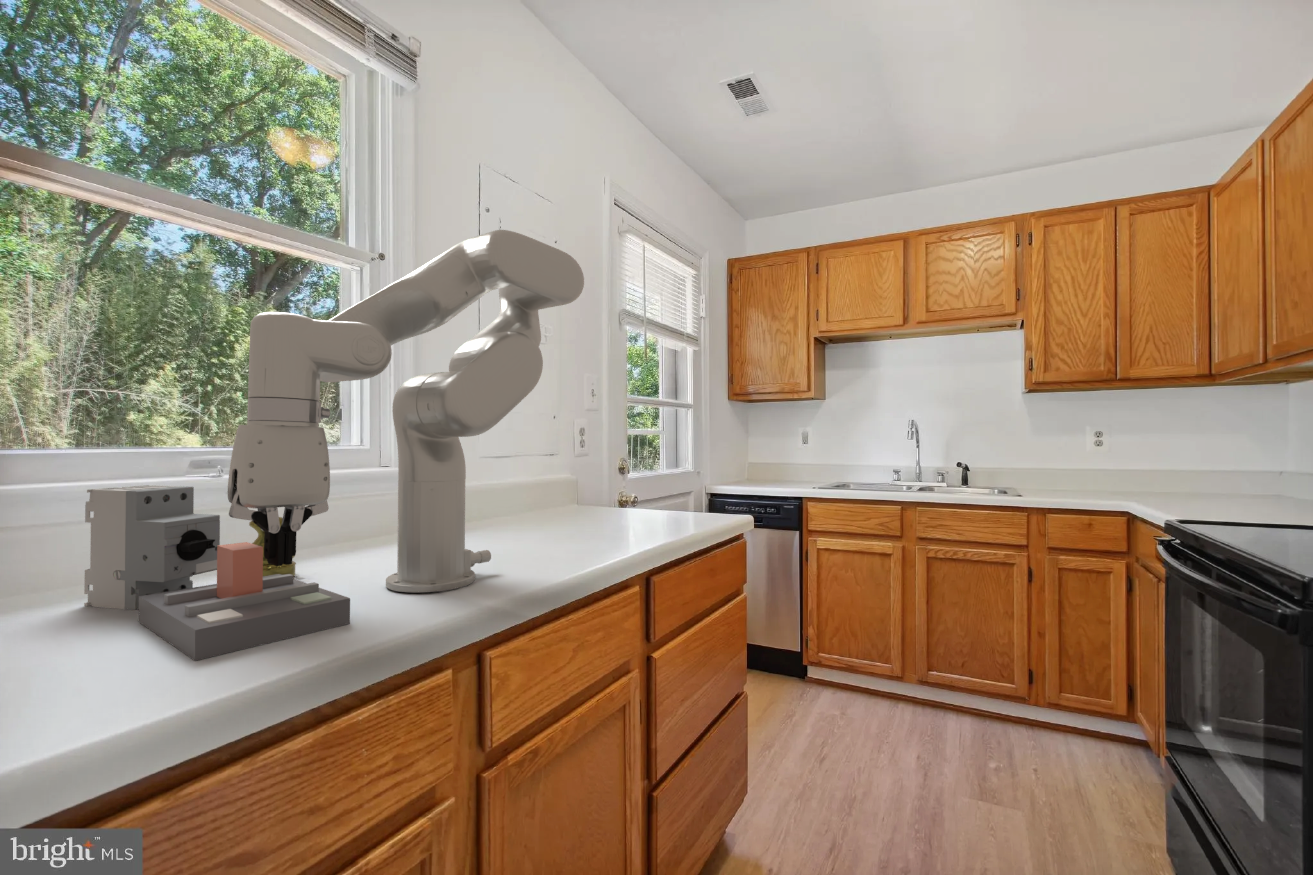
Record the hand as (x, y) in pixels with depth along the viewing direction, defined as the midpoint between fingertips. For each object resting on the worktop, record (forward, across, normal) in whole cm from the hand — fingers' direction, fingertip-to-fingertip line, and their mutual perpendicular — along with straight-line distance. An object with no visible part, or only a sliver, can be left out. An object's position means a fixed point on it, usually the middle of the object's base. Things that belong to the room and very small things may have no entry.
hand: (279, 563), depth 73 cm
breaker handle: (+3, +4, 0) cm, 5 cm away
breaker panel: (+6, +4, 0) cm, 7 cm away
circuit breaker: (+7, +7, -19) cm, 21 cm away
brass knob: (+6, -7, -22) cm, 24 cm away
